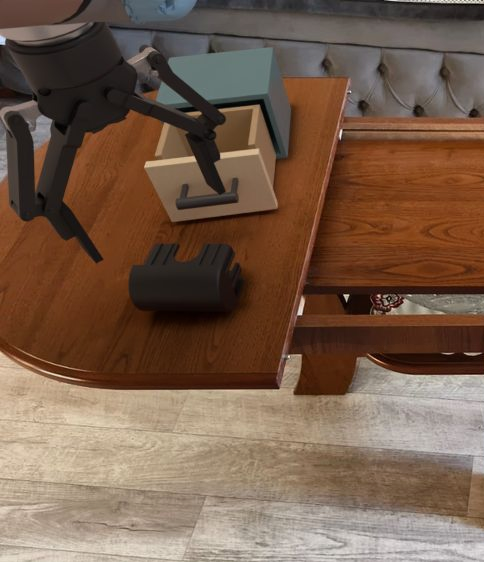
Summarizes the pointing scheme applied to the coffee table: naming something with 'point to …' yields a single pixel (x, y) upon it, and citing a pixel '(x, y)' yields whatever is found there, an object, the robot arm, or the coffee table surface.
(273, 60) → the cabinet
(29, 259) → the coffee table surface
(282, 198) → the coffee table surface
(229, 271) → the end cap
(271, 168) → the drawer
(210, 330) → the coffee table surface
